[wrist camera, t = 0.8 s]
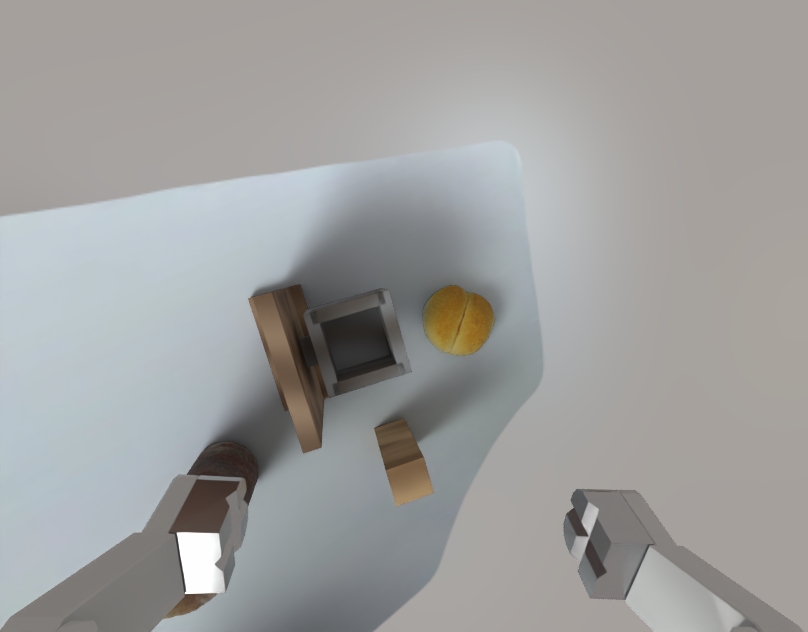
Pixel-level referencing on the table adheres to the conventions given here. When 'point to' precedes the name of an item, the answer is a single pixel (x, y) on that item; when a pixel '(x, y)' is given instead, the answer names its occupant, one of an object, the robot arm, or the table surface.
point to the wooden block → (403, 462)
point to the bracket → (327, 350)
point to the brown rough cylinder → (224, 463)
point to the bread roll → (457, 320)
